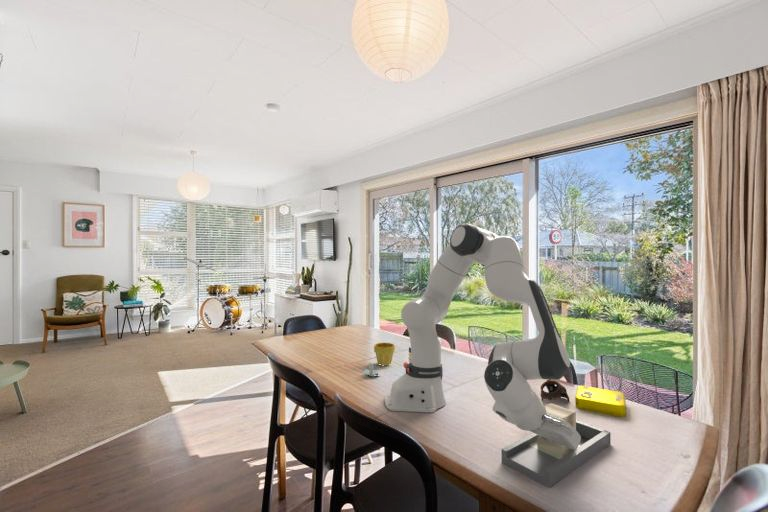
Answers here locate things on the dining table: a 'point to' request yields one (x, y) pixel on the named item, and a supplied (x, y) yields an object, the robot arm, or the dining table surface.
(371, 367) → the pacifier
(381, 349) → the plant pot
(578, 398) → the element tile
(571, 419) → the block
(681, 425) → the dining table surface
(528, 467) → the grey rimmed tray
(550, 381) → the pottery mug
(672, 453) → the dining table surface
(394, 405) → the robot arm
